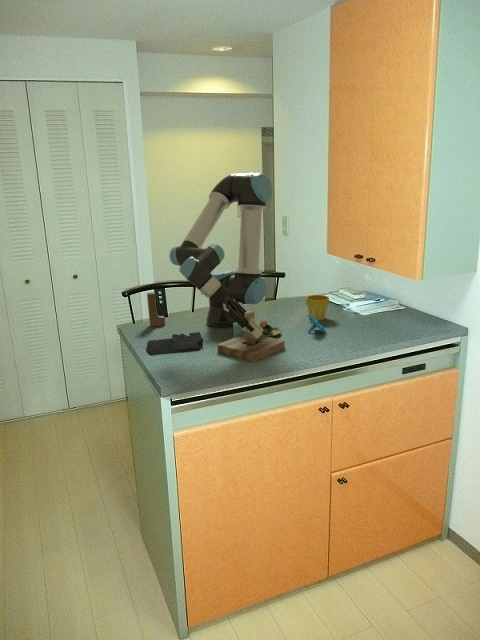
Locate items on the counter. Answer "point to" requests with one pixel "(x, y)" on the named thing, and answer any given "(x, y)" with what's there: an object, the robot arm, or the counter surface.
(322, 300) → the plant pot
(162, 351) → the dark slate chunk
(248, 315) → the long maple pin
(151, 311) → the wooden block
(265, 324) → the burger
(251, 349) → the walnut hole board
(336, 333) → the counter surface
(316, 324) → the gear
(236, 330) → the short teal pin
